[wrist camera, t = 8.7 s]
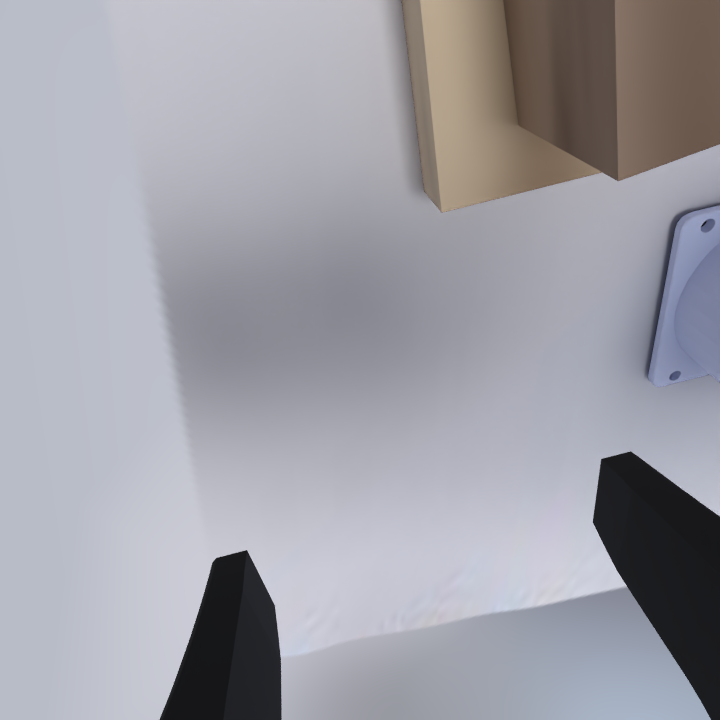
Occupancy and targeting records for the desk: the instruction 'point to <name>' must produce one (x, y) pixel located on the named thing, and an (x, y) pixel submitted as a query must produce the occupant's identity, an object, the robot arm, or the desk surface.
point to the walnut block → (618, 78)
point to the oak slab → (473, 108)
